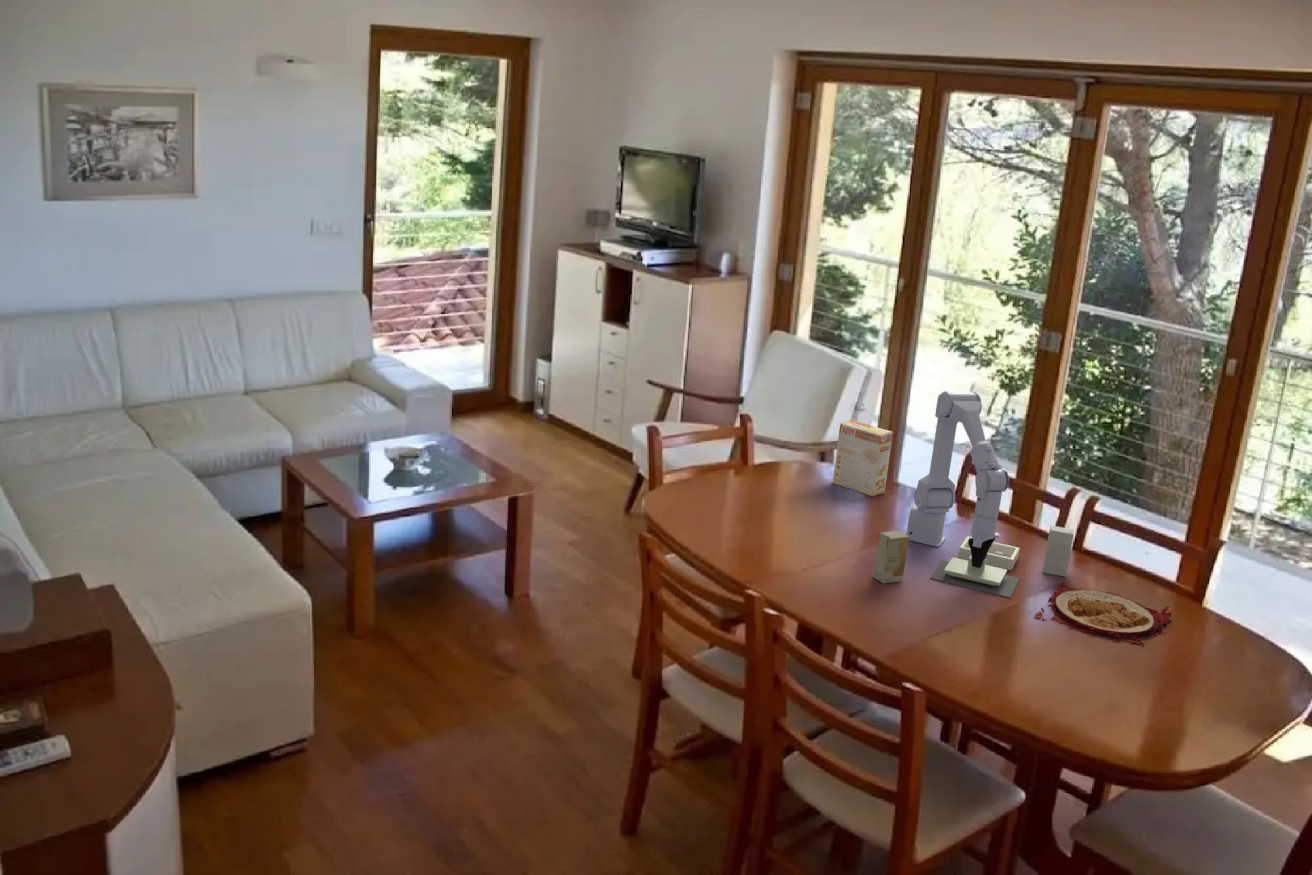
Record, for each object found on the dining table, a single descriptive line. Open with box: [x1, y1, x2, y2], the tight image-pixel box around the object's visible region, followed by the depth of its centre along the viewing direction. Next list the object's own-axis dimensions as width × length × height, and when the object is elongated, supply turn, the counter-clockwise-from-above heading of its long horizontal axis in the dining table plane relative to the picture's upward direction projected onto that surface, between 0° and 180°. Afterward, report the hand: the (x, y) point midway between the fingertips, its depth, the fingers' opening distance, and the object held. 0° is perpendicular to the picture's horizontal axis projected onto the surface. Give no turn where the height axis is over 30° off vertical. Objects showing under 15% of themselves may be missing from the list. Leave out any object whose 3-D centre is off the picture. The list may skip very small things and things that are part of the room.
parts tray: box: [957, 535, 1021, 571], centre depth 323 cm, size 14×10×3 cm
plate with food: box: [1034, 582, 1173, 648], centre depth 291 cm, size 25×26×4 cm
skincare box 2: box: [1042, 525, 1075, 577], centre depth 316 cm, size 6×4×12 cm
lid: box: [944, 556, 1008, 586], centre depth 307 cm, size 14×10×5 cm
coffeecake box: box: [832, 419, 894, 497], centre depth 368 cm, size 15×7×20 cm, turn 46°
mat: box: [929, 559, 1021, 599], centre depth 308 cm, size 20×14×1 cm
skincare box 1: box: [872, 530, 910, 584], centre depth 302 cm, size 6×4×12 cm
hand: (977, 564), depth 307 cm, fingers closed on lid, 2 cm apart
